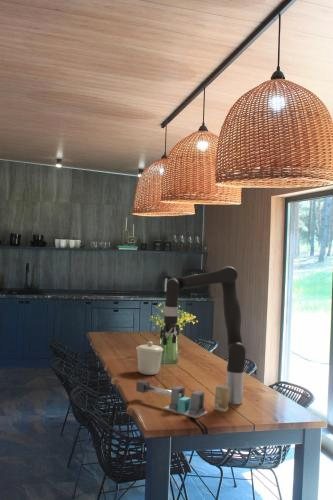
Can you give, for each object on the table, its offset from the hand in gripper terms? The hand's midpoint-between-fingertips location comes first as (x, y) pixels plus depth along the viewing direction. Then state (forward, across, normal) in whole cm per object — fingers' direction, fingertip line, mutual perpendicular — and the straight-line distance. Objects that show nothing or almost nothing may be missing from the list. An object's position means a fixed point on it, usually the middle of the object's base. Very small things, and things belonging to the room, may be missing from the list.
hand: (169, 344), depth 281 cm
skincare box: (+30, -5, +32) cm, 44 cm away
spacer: (+29, +11, +19) cm, 37 cm away
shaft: (+26, +11, +3) cm, 28 cm away
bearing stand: (+30, +11, +20) cm, 38 cm away
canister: (+30, -39, -43) cm, 65 cm away
